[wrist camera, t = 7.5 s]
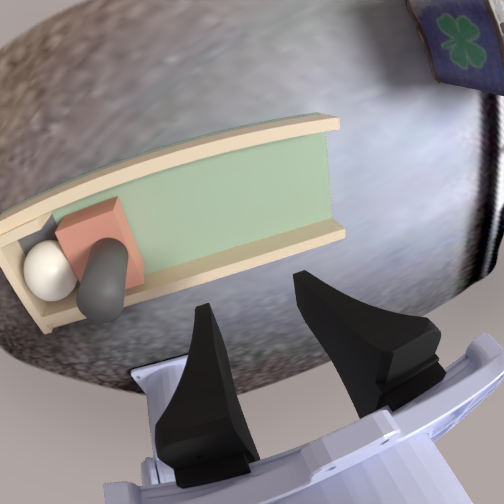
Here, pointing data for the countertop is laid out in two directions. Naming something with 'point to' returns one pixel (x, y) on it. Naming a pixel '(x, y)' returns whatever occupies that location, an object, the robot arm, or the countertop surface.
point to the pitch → (192, 209)
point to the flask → (463, 41)
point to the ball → (49, 271)
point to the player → (101, 258)
